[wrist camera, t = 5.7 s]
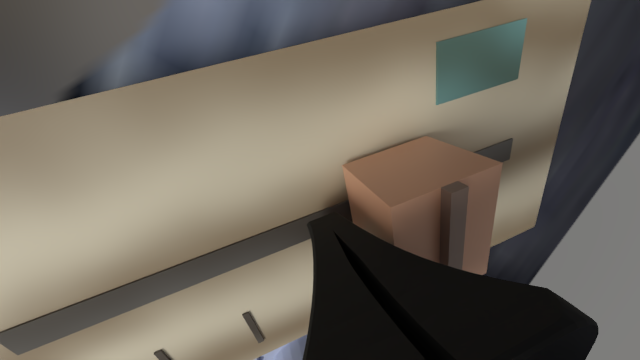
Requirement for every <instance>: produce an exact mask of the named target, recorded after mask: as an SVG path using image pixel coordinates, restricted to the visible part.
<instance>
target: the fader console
mask: <svg viewBox="0 0 640 360" xmlns="http://www.w3.org/2000/svg"><path fill="white" fill-rule="evenodd" d="M590 3H591V0H482V1H478V2H474V3H470V4H465V5H461V6H457V7H453V8H449V9H445V10H441V11H436V12H432V13H428V14H424V15H420V16H416V17H412V18H407V19H403V20H399V21H395V22H391V23H387V24H382V25H378V26H374V27H370V28H366V29H362V30H358V31H353V32H349V33H345V34H341V35H337V36H333V37H328V38H324V39H320V40H316V41H312V42H308V43H304V44H299V45H295V46H291V47H287V48H283V49H279V50H274V51H270V52H266V53H262V54H258V55H254V56H250V57H245V58H241V59H237V60H233V61H229V62H225V63H221V64H216V65H212V66H208V67H204V68H200V69H196V70H191V71H187V72H183V73H179V74H175V75H171V76H167V77H162V78H158V79H154V80H150V81H146V82H142V83H137V84H133V85H129V86H125V87H121V88H117V89H113V90H108V91H104V92H100V93H96V94H92V95H88V96H83V97H79V98H75V99H71V100H67V101H63V102H59V103H54V104H50V105H46V106H42V107H38V108H34V109H30V110H25V111H21V112H17V113H13V114H9V115H5V116H0V360H254V359H256V358H258V357H260V356H262V355H264V354H267V353H269V352H271V351H273V350H275V349H277V348H279V347H281V346H283V345H286V344H288V343H290V342H292V341H294V340H296V339H298V338H300V337H302V336H305V335H307V334H308V328H309V320H310V313H311V304H312V293H313V250H312V241H311V237H310V234H309V231H308V228H307V224H308V222H310V221H312V220H315V219H317V218H320V217H322V216H325V215H328V214H330V213H333V212H337V213H339V214H340V215H341V216H343V217H344V218H346V219H348V220H349V221H351V222H352V223H353V220H352V215H351V210H350V204H349V199H348V194H347V189H346V184H345V178H344V173H343V168H342V165H344V164H347V163H350V162H352V161H355V160H358V159H361V158H364V157H367V156H370V155H373V154H375V153H378V152H381V151H384V150H387V149H390V148H393V147H396V146H398V145H401V144H404V143H407V142H410V141H413V140H416V139H418V138H421V137H424V136H428V137H431V138H434V139H436V140H439V141H442V142H445V143H448V144H451V145H453V146H456V147H459V148H462V149H465V150H468V151H470V152H473V153H476V154H479V155H482V156H485V157H488V158H490V159H493V160H496V161H499V162H502V163H503V164H502V171H501V178H500V185H499V191H498V198H497V205H496V211H495V218H494V225H493V232H492V238H491V245H490V247H492V246H494V245H496V244H499V243H501V242H503V241H505V240H507V239H509V238H511V237H513V236H515V235H518V234H520V233H522V232H524V231H526V230H528V229H530V228H532V227H534V226H535V223H536V219H537V215H538V211H539V207H540V203H541V199H542V195H543V191H544V187H545V183H546V179H547V175H548V171H549V167H550V163H551V159H552V155H553V151H554V147H555V143H556V139H557V135H558V131H559V127H560V123H561V119H562V115H563V111H564V107H565V103H566V99H567V95H568V91H569V87H570V83H571V79H572V75H573V71H574V67H575V63H576V59H577V55H578V51H579V47H580V43H581V39H582V35H583V31H584V27H585V23H586V19H587V15H588V11H589V7H590Z"/></svg>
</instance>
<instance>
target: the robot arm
mask: <svg viewBox="0 0 640 360" xmlns="http://www.w3.org/2000/svg"><path fill="white" fill-rule="evenodd" d="M307 228H308V231H309V234H310V237H311V241H312V250H313V293H312V304H311V313H310V320H309V328H308V334H307V335H305V336H302V337H300V338H298V339H296V340H294V341H292V342H290V343H288V344H286V345H283V346H281V347H279V348H277V349H275V350H273V351H271V352H269V353H267V354H264V355H262V356H260V357H258V358H256V359H254V360H585V359H586V357H587V355H588V354H589V352H590V350H591V348H592V346H593V344H594V343H595V340H596V338H597V335H598V326H597V323H596V322H595V321H594V320H593V319H592V318H590V317H589V316H587V315H586V314H584V313H583V312H581V311H580V310H579V309H577V308H576V307H574V306H573V305H572V304H570V303H569V302H567V301H566V300H564V299H563V298H561V297H560V296H558V295H557V294H555V293H554V292H552V291H551V290H549V289H547V288H543V287H538V286H532V285H527V284H522V283H516V282H511V281H506V280H500V279H496V278H492V277H488V276H483V275H479V274H475V273H471V272H467V271H464V270H460V269H457V268H453V267H450V266H447V265H444V264H441V263H437V262H434V261H431V260H428V259H425V258H423V257H420V256H418V255H415V254H412V253H410V252H407V251H405V250H403V249H401V248H398V247H396V246H394V245H392V244H390V243H388V242H386V241H384V240H382V239H380V238H378V237H376V236H374V235H373V234H371V233H369V232H367V231H365V230H364V229H362V228H360V227H359V226H357V225H355V224H354V223H352V222H351V221H349V220H348V219H346V218H344V217H343V216H341V215H340V214H339V213H337V212H333V213H330V214H328V215H325V216H322V217H320V218H317V219H315V220H312V221H310V222H308V224H307Z"/></svg>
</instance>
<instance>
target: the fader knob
mask: <svg viewBox="0 0 640 360" xmlns="http://www.w3.org/2000/svg"><path fill="white" fill-rule="evenodd" d="M502 164H503V163H502V162H499V161H496V160H493V159H490V158H488V157H485V156H482V155H479V154H476V153H473V152H470V151H468V150H465V149H462V148H459V147H456V146H453V145H451V144H448V143H445V142H442V141H439V140H436V139H434V138H431V137H428V136H424V137H421V138H418V139H416V140H413V141H410V142H407V143H404V144H401V145H398V146H396V147H393V148H390V149H387V150H384V151H381V152H378V153H375V154H373V155H370V156H367V157H364V158H361V159H358V160H355V161H352V162H350V163H347V164H344V165H342V168H343V173H344V178H345V184H346V189H347V194H348V199H349V204H350V210H351V215H352V220H353V223H354V224H355V225H357V226H359V227H360V228H362V229H364V230H365V231H367V232H369V233H371V234H373V235H374V236H376V237H378V238H380V239H382V240H384V241H386V242H388V243H390V244H392V245H394V246H396V247H398V248H401V249H403V250H405V251H407V252H410V253H412V254H415V255H418V256H420V257H423V258H425V259H428V260H431V261H434V262H437V263H441V264H444V265H447V266H450V267H453V268H457V269H460V270H464V271H467V272H471V273H475V274H479V275H483V274H485V273H486V272H487V265H488V258H489V252H490V245H491V238H492V232H493V225H494V218H495V211H496V205H497V198H498V191H499V185H500V178H501V171H502Z"/></svg>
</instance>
